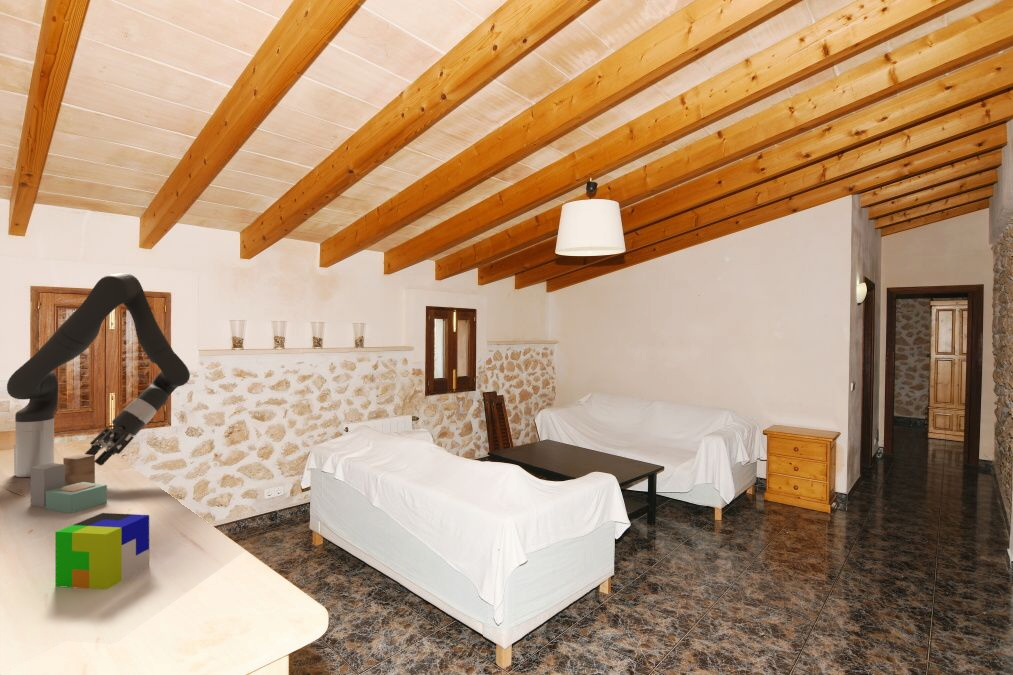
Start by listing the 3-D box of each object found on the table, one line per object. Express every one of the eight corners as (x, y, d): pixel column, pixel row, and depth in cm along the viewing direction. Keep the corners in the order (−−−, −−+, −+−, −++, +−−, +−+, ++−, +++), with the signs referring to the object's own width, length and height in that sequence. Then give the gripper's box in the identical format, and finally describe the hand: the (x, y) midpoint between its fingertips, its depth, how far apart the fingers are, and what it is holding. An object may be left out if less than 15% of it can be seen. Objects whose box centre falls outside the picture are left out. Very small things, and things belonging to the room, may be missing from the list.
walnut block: (63, 493, 150) (63, 457, 150) (82, 488, 155) (82, 453, 155) (76, 494, 149) (76, 459, 148) (94, 489, 153) (94, 455, 153)
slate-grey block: (30, 505, 140) (30, 467, 139) (51, 499, 144) (51, 462, 144) (44, 507, 138) (44, 469, 138) (65, 501, 143) (65, 464, 143)
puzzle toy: (149, 565, 105) (149, 515, 105) (106, 589, 95) (106, 534, 95) (102, 562, 106) (102, 512, 106) (55, 586, 96) (55, 531, 96)
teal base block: (45, 510, 137) (45, 490, 137) (82, 499, 145) (82, 481, 145) (70, 514, 134) (70, 494, 134) (106, 503, 143) (106, 484, 142)
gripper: (114, 407, 165) (69, 451, 155) (136, 411, 158) (91, 457, 148) (133, 422, 170) (90, 465, 160) (156, 426, 162) (113, 472, 153)
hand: (91, 461), depth 154 cm, fingers open, 8 cm apart
